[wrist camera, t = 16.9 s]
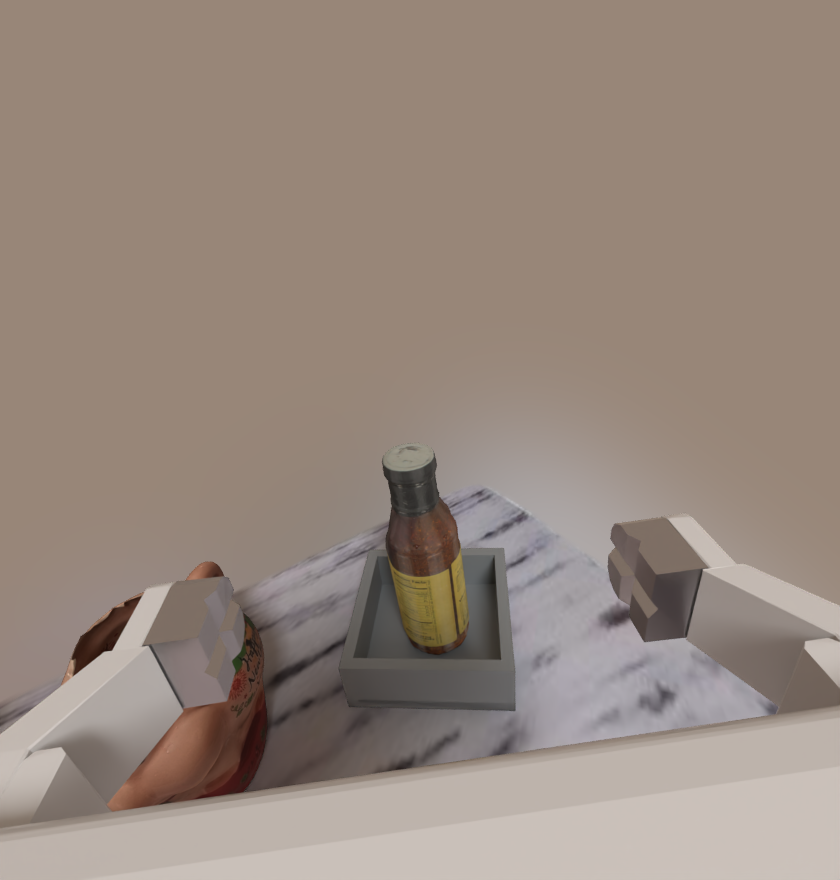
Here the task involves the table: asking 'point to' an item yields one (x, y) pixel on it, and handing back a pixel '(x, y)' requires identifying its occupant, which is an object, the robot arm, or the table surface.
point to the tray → (421, 674)
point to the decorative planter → (192, 722)
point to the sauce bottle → (424, 552)
